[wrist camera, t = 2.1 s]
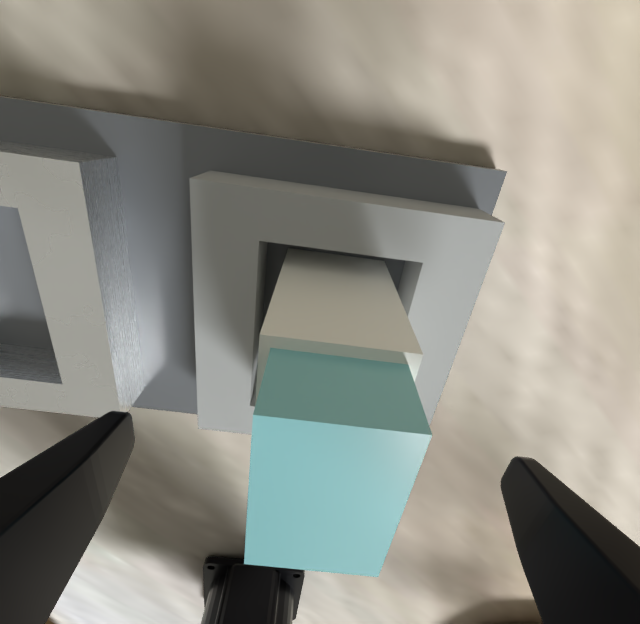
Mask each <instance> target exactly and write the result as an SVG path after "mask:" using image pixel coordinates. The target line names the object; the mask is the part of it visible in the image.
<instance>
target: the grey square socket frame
mask: <svg viewBox="0 0 640 624" xmlns="http://www.w3.org/2000/svg"><path fill="white" fill-rule="evenodd" d="M189 179H190V208H191V237H192V266H193V294H194V323H195V352H196V381H197V410H198V429H206V430H215V431H224V432H232V433H241V434H250V435H252V422H253V413H254V409H255V399H256V383H257V368H258V352H259V336H260V332H261V329H262V319H263V304H264V289H265V274H266V259H267V244H268V242H272V243H280V244H287V245H295V246H302V247H310V248H317V249H324V250H332V251H339V252H347V253H354V254H361V255H369V256H376V257H384V258H391V259H399V260H405V264H404V268H403V272H402V276H401V280H400V283H399V287H398V291H397V293H398V295H399V297H400V300H401V302H402V305H403V307H404V309H405V312H406V314H407V317H408V319H409V321H410V324H411V326H412V328H413V331H414V333H415V336H416V338H417V340H418V343H419V345H420V348H421V350H422V352H423V357H422V360H421V364H420V367H419V370H418V373H417V376H416V379H415V385H416V388H417V391H418V394H419V397H420V400H421V403H422V406H423V409H424V412H425V415H426V418H427V421H428V424H429V426H430V423H431V420H432V418H433V415H434V412H435V410H436V407H437V404H438V402H439V399H440V396H441V393H442V391H443V388H444V385H445V383H446V380H447V377H448V375H449V372H450V369H451V367H452V364H453V361H454V358H455V356H456V353H457V350H458V348H459V345H460V342H461V340H462V337H463V334H464V332H465V329H466V326H467V323H468V321H469V318H470V315H471V313H472V310H473V307H474V305H475V302H476V299H477V297H478V294H479V291H480V288H481V286H482V283H483V280H484V278H485V275H486V272H487V270H488V267H489V264H490V262H491V259H492V256H493V253H494V251H495V248H496V245H497V243H498V240H499V237H500V235H501V232H502V229H503V227H504V224H505V223H504V222H503V221H501V220H499V219H497V218H495V217H493V216H491V215H490V214H488V213H486V212H484V211H482V210H480V209H478V208H471V207H464V206H457V205H450V204H443V203H436V202H429V201H422V200H414V199H407V198H400V197H393V196H386V195H379V194H372V193H365V192H358V191H351V190H344V189H337V188H330V187H323V186H316V185H309V184H302V183H295V182H288V181H281V180H274V179H267V178H260V177H253V176H246V175H239V174H232V173H225V172H218V171H208V172H205V173H202V174H200V175H197V176H194V177H192V178H189Z"/></svg>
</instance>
